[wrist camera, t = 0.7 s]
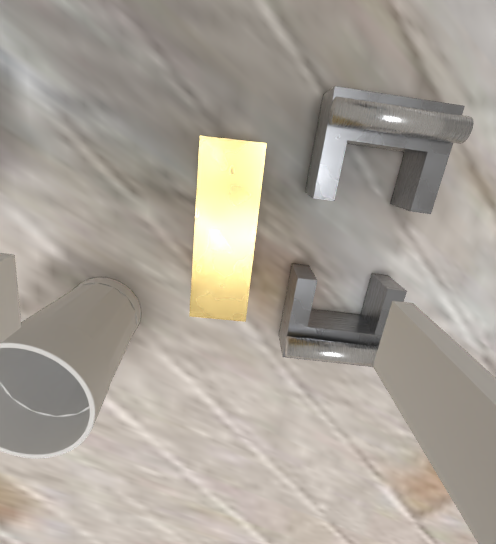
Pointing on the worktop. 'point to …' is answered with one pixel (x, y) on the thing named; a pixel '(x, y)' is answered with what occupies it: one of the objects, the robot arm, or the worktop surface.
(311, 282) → the chain end
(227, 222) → the gold rectangular block
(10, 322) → the robot arm
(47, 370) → the cup
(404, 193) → the bracket
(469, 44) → the worktop surface
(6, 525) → the worktop surface
